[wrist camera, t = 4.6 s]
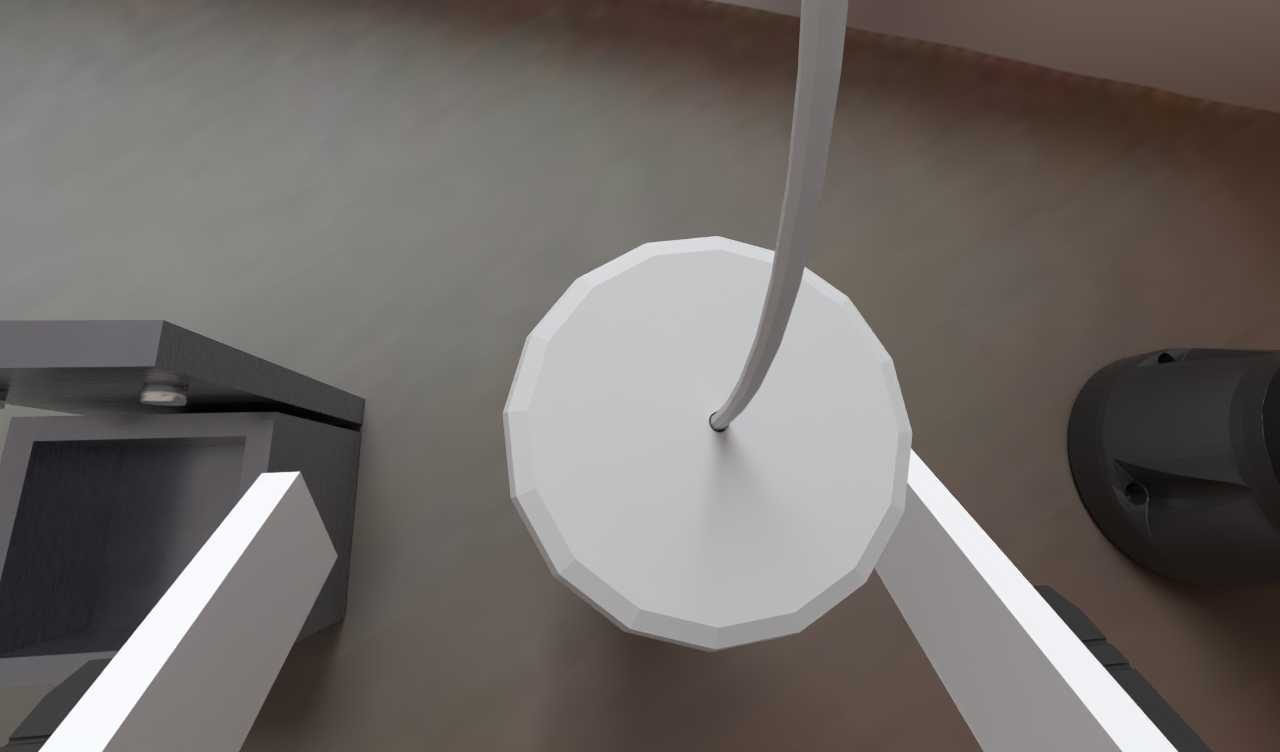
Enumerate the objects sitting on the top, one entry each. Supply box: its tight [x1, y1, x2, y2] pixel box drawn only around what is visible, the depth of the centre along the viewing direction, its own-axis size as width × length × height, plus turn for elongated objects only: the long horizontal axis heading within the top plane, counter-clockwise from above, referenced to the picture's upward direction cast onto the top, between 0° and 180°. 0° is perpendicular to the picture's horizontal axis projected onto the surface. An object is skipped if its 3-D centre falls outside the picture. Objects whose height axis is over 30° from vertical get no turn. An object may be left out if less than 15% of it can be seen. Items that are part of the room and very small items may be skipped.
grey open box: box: [0, 320, 364, 688], centre depth 20 cm, size 12×10×14 cm
